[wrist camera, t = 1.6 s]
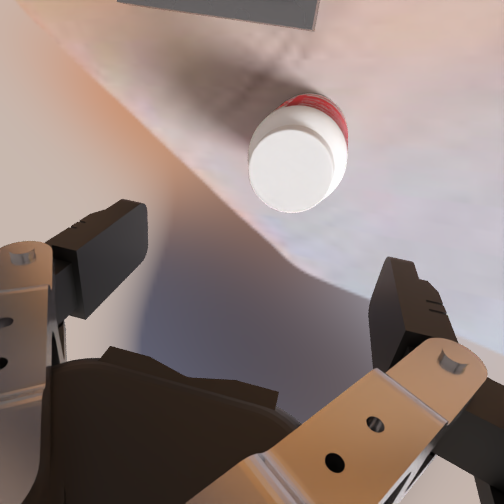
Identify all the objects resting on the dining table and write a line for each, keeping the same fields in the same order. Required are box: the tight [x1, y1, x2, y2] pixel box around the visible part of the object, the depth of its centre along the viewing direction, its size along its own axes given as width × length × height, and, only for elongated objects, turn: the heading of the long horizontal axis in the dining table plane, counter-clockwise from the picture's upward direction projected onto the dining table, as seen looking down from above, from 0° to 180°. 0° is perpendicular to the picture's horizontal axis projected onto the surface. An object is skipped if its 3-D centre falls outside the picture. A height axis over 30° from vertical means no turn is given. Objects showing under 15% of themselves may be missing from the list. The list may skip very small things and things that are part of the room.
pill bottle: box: [248, 93, 348, 213], centre depth 24 cm, size 6×6×11 cm
